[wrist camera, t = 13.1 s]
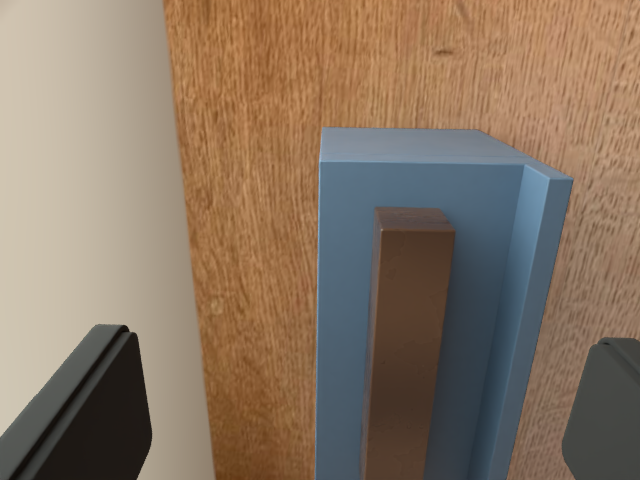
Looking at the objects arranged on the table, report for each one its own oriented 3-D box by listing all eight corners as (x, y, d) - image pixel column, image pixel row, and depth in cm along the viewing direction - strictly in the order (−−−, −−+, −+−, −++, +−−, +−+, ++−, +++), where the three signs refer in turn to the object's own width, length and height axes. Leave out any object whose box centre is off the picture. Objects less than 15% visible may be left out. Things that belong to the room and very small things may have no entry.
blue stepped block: (318, 380, 37) (313, 528, 26) (322, 127, 30) (317, 173, 18) (443, 383, 37) (494, 533, 25) (478, 129, 30) (574, 178, 18)
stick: (374, 206, 21) (381, 229, 18) (439, 207, 21) (456, 230, 18) (358, 466, 27) (361, 513, 24) (409, 467, 27) (418, 514, 24)
